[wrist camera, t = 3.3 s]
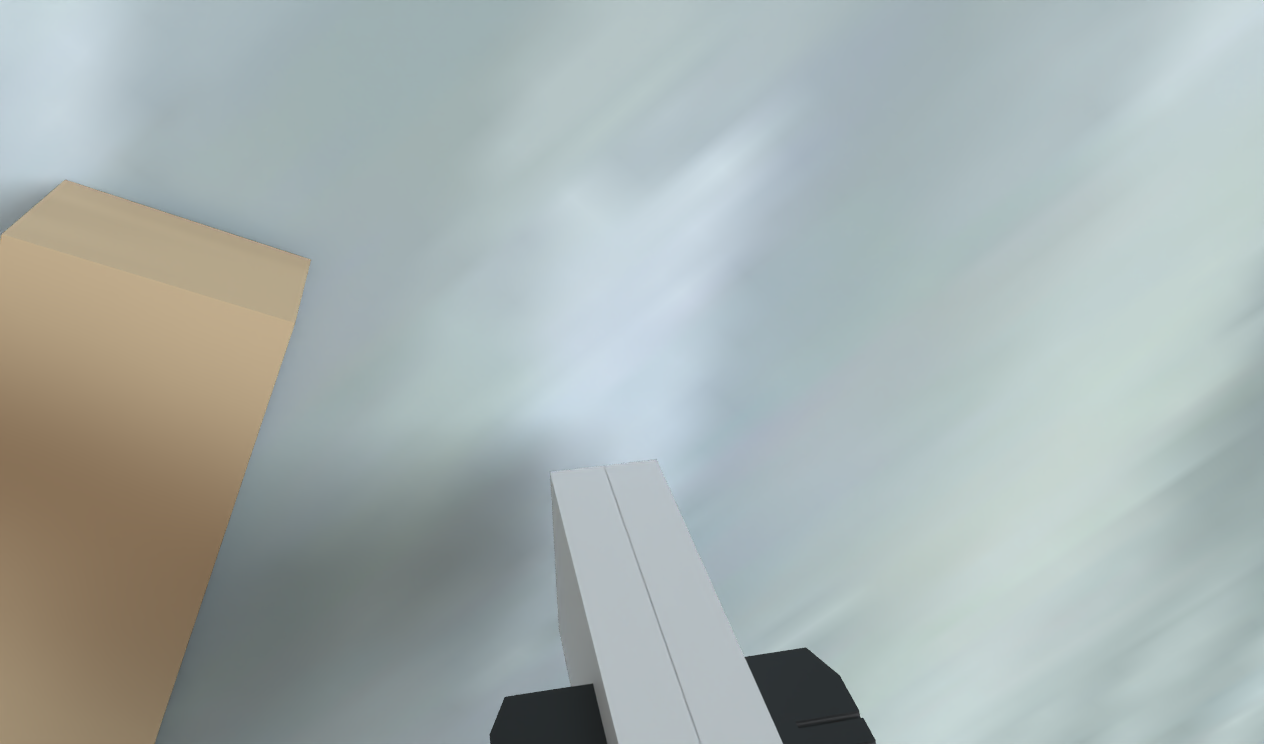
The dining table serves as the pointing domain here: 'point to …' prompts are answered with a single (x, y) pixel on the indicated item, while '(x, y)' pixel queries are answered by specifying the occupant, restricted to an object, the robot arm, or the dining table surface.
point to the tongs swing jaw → (121, 449)
